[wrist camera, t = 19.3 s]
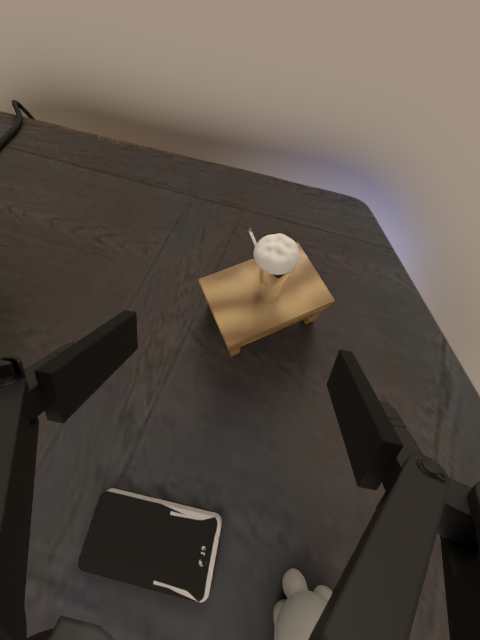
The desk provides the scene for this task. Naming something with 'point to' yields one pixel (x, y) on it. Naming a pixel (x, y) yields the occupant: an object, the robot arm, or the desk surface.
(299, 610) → the round bodied animal figurine
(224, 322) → the stool
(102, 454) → the desk surface
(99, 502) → the smartphone
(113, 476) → the desk surface
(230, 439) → the desk surface
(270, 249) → the milkshake
